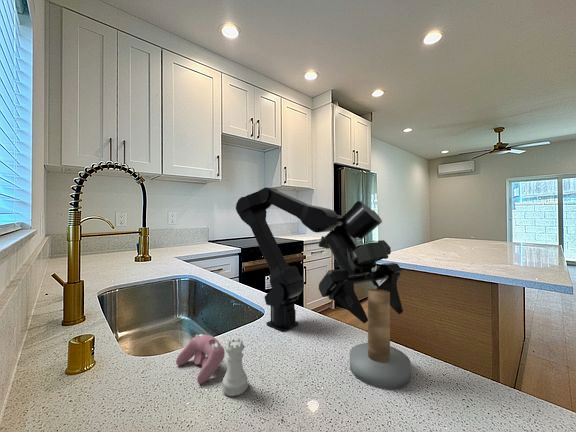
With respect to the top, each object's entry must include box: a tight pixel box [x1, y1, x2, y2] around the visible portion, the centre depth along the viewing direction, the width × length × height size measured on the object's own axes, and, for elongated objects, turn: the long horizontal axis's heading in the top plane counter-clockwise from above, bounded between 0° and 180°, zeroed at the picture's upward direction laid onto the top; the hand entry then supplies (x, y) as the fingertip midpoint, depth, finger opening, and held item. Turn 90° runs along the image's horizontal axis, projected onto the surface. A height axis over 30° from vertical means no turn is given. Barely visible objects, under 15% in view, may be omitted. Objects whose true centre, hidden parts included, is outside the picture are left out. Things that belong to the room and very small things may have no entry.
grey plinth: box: [349, 342, 412, 390], centre depth 49 cm, size 11×11×2 cm
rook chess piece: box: [221, 338, 249, 397], centre depth 43 cm, size 4×4×8 cm
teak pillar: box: [367, 288, 391, 363], centre depth 49 cm, size 4×4×12 cm
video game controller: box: [175, 333, 226, 385], centre depth 50 cm, size 10×5×7 cm, turn 48°
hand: (384, 317), depth 47 cm, fingers open, 9 cm apart
